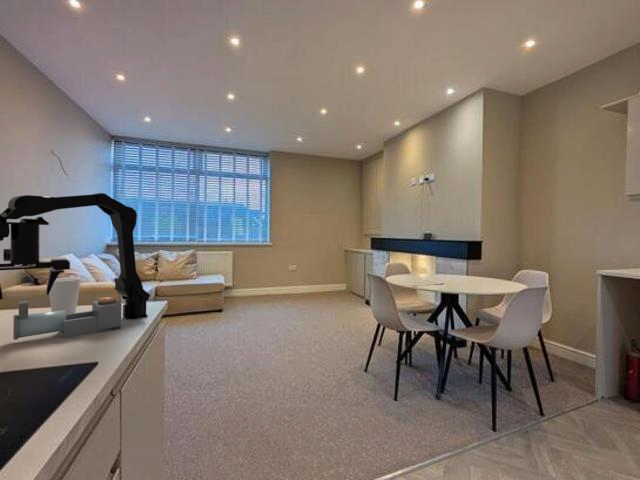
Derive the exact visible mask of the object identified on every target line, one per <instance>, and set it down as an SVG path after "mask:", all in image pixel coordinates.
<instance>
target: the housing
mask: <svg viewBox="0 0 640 480" xmlns="http://www.w3.org/2000/svg"><path fill="white" fill-rule="evenodd" d="M91 307H92V309H91V310H86V311H80V312H75V313H71V314H66V320H65V321H63V331H59V333H60V334H61V336H62V338H63V340H68V339H73V338H78V337H84V336H91V335H95V334H101V333H106V332H113V331H117V330H121V329H122V303H121V302H119V301H118V300H117V299H115V303H111V304H103V305H99V304H98V300H93V301H92V303H91Z"/></svg>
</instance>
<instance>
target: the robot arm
mask: <svg viewBox="0 0 640 480" xmlns="http://www.w3.org/2000/svg"><path fill="white" fill-rule="evenodd" d="M7 206H8V207H7V208H5V210H3V211H2V212H0V242H2V241H4V239H5V238H8V237H10V248H4V249H3V250H2V251H3V257H2V259H3V262H9V263H0V271H14V270H15V271H16V270H18V271H19V270H32V269H34V270H36V269H49V270H48V277H47V280H48V283H47V282H46V295H47V296H49V293H50V290H51V288H52V286H53V284H54V282H55V280H56V278H59V275H60V274H63V273H64V274H65V271H67V270H71V263H70V260H69V259H66V258H53V259H52V258H51V259H50V261H40V226H49V225H50V222H49V221H47V220H46V219H44V218H43V216H40V215H44V214H46V213H50V212H53V211H57V210H63V209H64V210H65V209H74V208H83V207H94V206H96V207H98V208H99V209H100V210H101V211H102V212H103V213H104V214H106V215H108V217H109V219H110V221H111V224H112V227H113V228H114V230H115V232H116V235H117V236H116V237H117V245H118V246H117V247H118V258H119V268H120V273H119V275H118V277H115V278H114V279H113V281H114V284H115V285H114V290H115V291H116V292H117V294H118V295H120V296H121V298H122V300H124V304H123V305H122V317H123V318H124V319H126V321H130V320H131V321H132V320H137V319H142V318H148V317H149V315H148V314H147V302H148V301H149V300H150V297H151V294H150V293H149V292H148V291H146V290H145V289H144V287H143V282H142V279H141V278H140V276H139V273H137V265H136V252H135V240H134V232H135V231H134V230H135V228H136V225H137V219H138V213H137V211H136V210H135V209H134V208H133V207H131V206H127V205H125V204H124V203H122V202H120V201H118V200H117V199H115V198H113V197H111V196H109V195H108V194H107V193H104V192H99V193H94V194H93V193H92V194H82V195H79V194H78V195H70V196H45V195H44V196H42V195H31V194H27V195H26V194H25V195H19V196H15V197H12V198H11V199H10V200H9V201H8V204H7ZM34 216H37V217H36V218H23V217H34ZM18 219H20V221H15V222H14V221H8V220H18ZM0 300H3V289H2V284H1V283H0Z"/></svg>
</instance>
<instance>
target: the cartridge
mask: <svg viewBox="0 0 640 480" xmlns="http://www.w3.org/2000/svg"><path fill="white" fill-rule="evenodd" d="M65 320H66V311H65V310H60V311H52V310H51V311H45V312H37V313H30V314H29V300H19V301H18V314H14V315H13V340H14V341H15V340H19V339H21V338H26V337H27V338H28V337H31V336H32V337H34V336H40V335H45V334H51V333H57V332H60V331H63V321H65Z"/></svg>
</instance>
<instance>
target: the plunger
mask: <svg viewBox="0 0 640 480" xmlns="http://www.w3.org/2000/svg"><path fill="white" fill-rule="evenodd" d="M115 300H116V297H114V296H107V297H106V296H105V297H100V298H97V301H98V304H99V305H103V304H111V303H115Z"/></svg>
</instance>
